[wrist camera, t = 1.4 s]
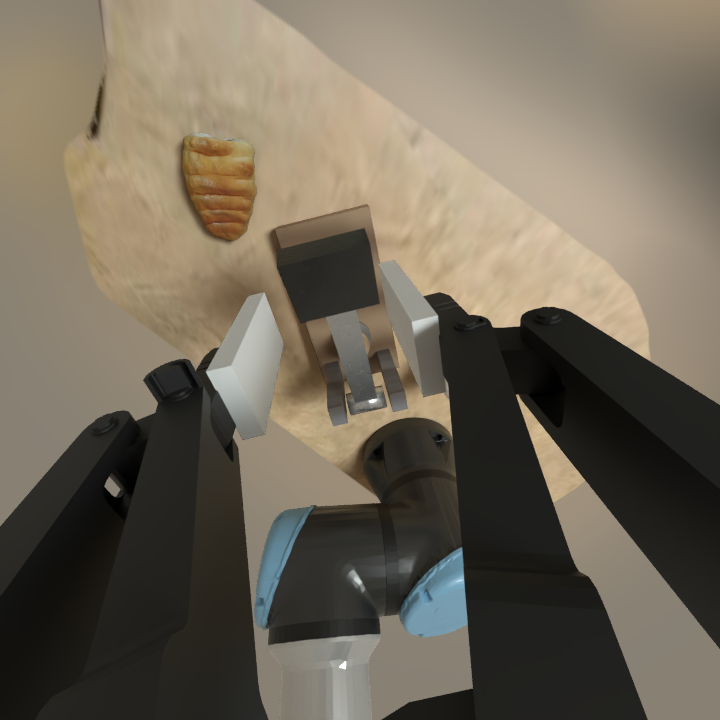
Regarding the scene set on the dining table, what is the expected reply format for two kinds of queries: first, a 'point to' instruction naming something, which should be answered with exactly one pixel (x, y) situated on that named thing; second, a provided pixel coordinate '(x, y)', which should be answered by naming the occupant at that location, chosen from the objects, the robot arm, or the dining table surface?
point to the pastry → (220, 182)
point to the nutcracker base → (370, 318)
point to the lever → (337, 302)
